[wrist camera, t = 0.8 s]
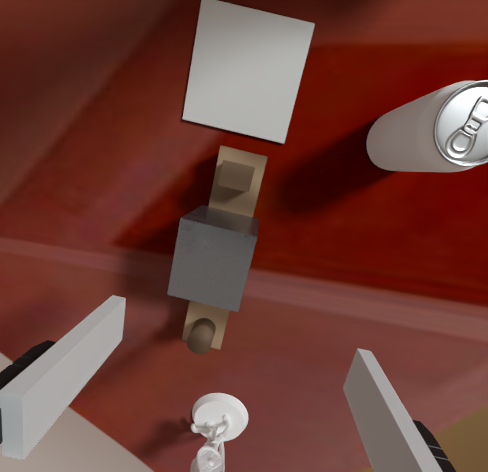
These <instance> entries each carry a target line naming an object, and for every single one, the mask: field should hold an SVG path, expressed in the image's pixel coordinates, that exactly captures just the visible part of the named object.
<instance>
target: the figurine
mask: <svg viewBox="0 0 488 472" xmlns="http://www.w3.org/2000/svg"><path fill="white" fill-rule="evenodd" d="M192 417H193V420H194V423H195V424H192V425H191V430H192V431H193V432H194V433H201V434H202V435H204V436H205V437H207V438H208V439H207V443H206V442H205V443H204V445H203V447H202V448H201V449H200V450H199V451H198V453H197V456H196V458H195V459H194V460H193V461H192V463H191V468H190V472H224V470H225V464H224V444H223V442H224V441H229V440H232V439H234V438H236V437H237V436H238V435H239V434H240V433H241V432H242V431H243V430H244V429H245V427H246V425H247V423H248V413H247V410H246V408H245V406H244V405H243V404H242V403H241V402H240V401H239V400H238V399H236V398H235V397H233V396H231V395H228V394H223V393H212V394H207V395H205V396H203V397H201V398H200V399H199V400H198V401H197V402H196V403H195V404H194V406H193V409H192ZM195 425H196V427H195ZM218 446H219V450H220V453H219V452H218V451H217V450H218Z"/></svg>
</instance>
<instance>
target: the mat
mask: <svg viewBox="0 0 488 472" xmlns="http://www.w3.org/2000/svg"><path fill="white" fill-rule="evenodd" d="M314 26H315V23H311V22H306V21H302V20H298V19H294V18H290V17H285V16H281V15H277V14H273V13H268V12H264V11H260V10H256V9H252V8H247V7H243V6H239V5H235V4H231V3H226V2H222V1H218V0H201V6H200V12H199V18H198V25H197V31H196V37H195V44H194V50H193V56H192V62H191V69H190V75H189V81H188V87H187V94H186V100H185V106H184V112H183V120H187V121H191V122H196V123H200V124H204V125H208V126H212V127H216V128H220V129H225V130H229V131H233V132H237V133H241V134H245V135H249V136H254V137H258V138H262V139H266V140H270V141H274V142H278V143H283V144H284V142H285V138H286V134H287V130H288V126H289V122H290V119H291V115H292V111H293V107H294V103H295V99H296V95H297V92H298V88H299V84H300V80H301V76H302V72H303V68H304V65H305V61H306V57H307V53H308V49H309V45H310V41H311V37H312V34H313V30H314Z"/></svg>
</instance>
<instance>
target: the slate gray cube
mask: <svg viewBox="0 0 488 472" xmlns="http://www.w3.org/2000/svg"><path fill="white" fill-rule="evenodd" d="M258 223H259V219H258V218H254V217H250V216H246V215H242V214H238V213H234V212H230V211H225V210H221V209H217V208H213V207H209V206H205V205H201V206H199V207H198V208H196V209H195V210H193V211H191V212H190V213H188V214H186V215H185V216H183V217H181V218H180V223H179V229H178V235H177V241H176V246H175V252H174V258H173V264H172V269H171V275H170V281H169V287H168V292H167V295H171V296H175V297H179V298H183V299H187V300H191V301H195V302H199V303H203V304H207V305H211V306H215V307H219V308H223V309H227V310H231V311H235V312H238V311H239V307H240V303H241V299H242V295H243V291H244V287H245V283H246V279H247V275H248V271H249V268H250V264H251V260H252V256H253V252H254V248H255V244H256V240H257V235H258Z"/></svg>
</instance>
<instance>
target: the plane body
mask: <svg viewBox="0 0 488 472" xmlns="http://www.w3.org/2000/svg"><path fill="white" fill-rule="evenodd" d="M266 161H267V157H266V156H262V155H257V154H253V153H249V152H245V151H241V150H237V149H233V148H228V147H224V146H220V151H219V156H218V161H217V166H216V171H215V176H214V181H213V186H212V191H211V196H210V201H209V207H213V208H217V209H221V210H225V211H230V212H234V213H238V214H242V215H246V216H250V217H253V214H254V210H255V205H256V201H257V197H258V193H259V189H260V185H261V181H262V177H263V173H264V169H265V165H266ZM229 311H230V310H227V309H223V308H219V307H215V306H211V305H207V304H203V303H199V302H195V301H191V300H190V301H189V306H188V311H187V316H186V321H185V326H184V331H183V336H182V340H184V341H187V346H188V348H189V349H190V350H191V351H192V352H194V353H197V354H204V353H206V352H208V351H209V350H210V348H211V347H212V348H216V349H220V348H221V344H222V339H223V335H224V331H225V327H226V323H227V319H228V315H229Z"/></svg>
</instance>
